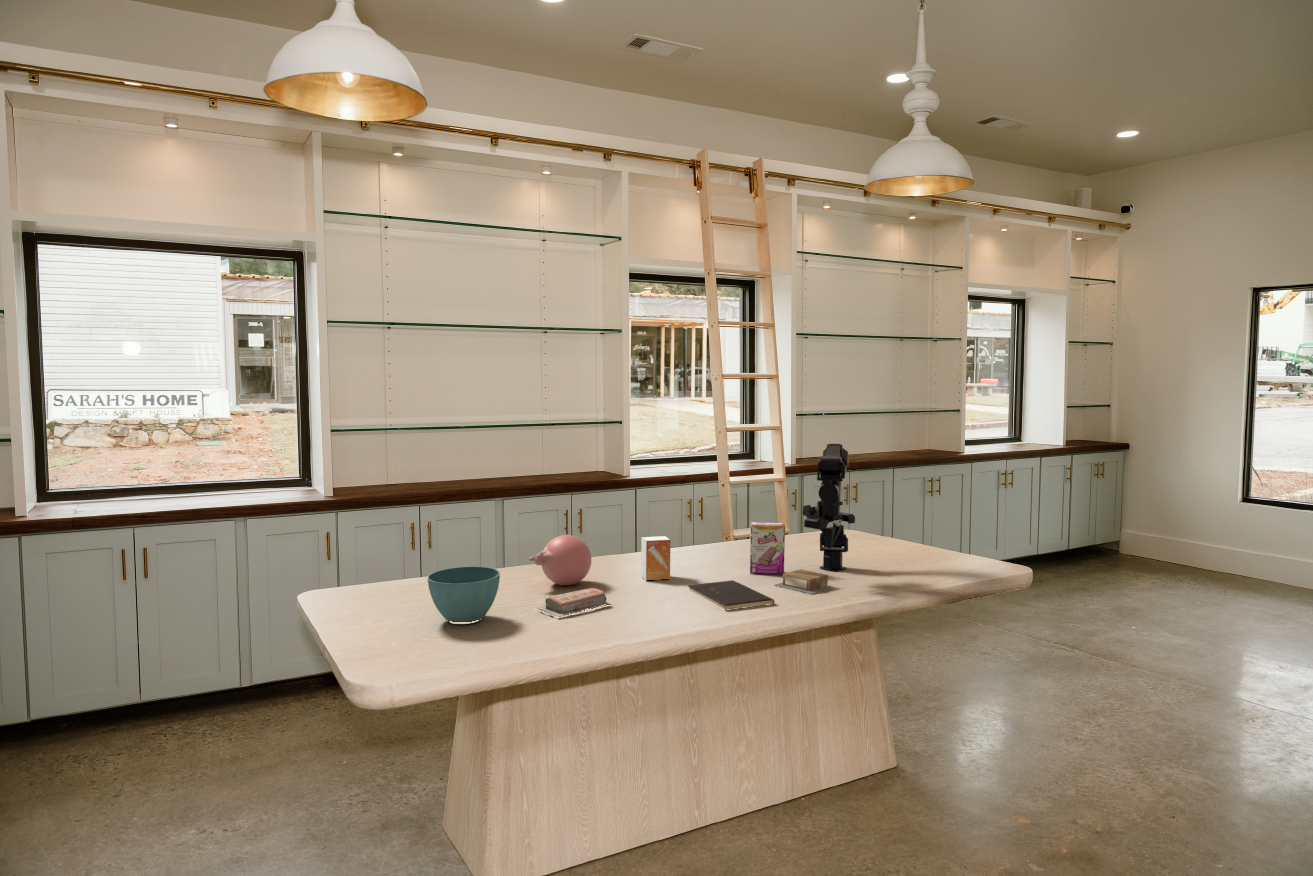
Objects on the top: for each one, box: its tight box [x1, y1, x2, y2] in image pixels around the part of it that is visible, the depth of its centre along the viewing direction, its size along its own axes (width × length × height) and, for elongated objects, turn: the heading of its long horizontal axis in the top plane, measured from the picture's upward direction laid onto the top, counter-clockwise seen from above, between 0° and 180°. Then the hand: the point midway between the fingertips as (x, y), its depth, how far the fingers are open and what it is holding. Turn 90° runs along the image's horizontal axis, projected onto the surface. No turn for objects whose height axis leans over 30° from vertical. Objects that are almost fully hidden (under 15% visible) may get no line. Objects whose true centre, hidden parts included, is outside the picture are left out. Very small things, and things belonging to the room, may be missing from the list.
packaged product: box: [537, 587, 612, 617], centre depth 212 cm, size 18×5×10 cm
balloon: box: [528, 534, 592, 586], centre depth 237 cm, size 15×20×15 cm
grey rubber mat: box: [773, 582, 833, 595], centre depth 236 cm, size 10×14×1 cm
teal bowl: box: [427, 565, 501, 622], centre depth 201 cm, size 18×18×12 cm
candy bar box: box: [749, 521, 786, 576], centre depth 253 cm, size 11×5×16 cm, turn 84°
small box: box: [640, 535, 671, 581], centre depth 246 cm, size 8×6×13 cm
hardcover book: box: [687, 579, 775, 611], centre depth 224 cm, size 16×23×2 cm
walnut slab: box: [782, 568, 829, 591], centre depth 236 cm, size 4×10×9 cm
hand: (829, 548), depth 241 cm, fingers closed
